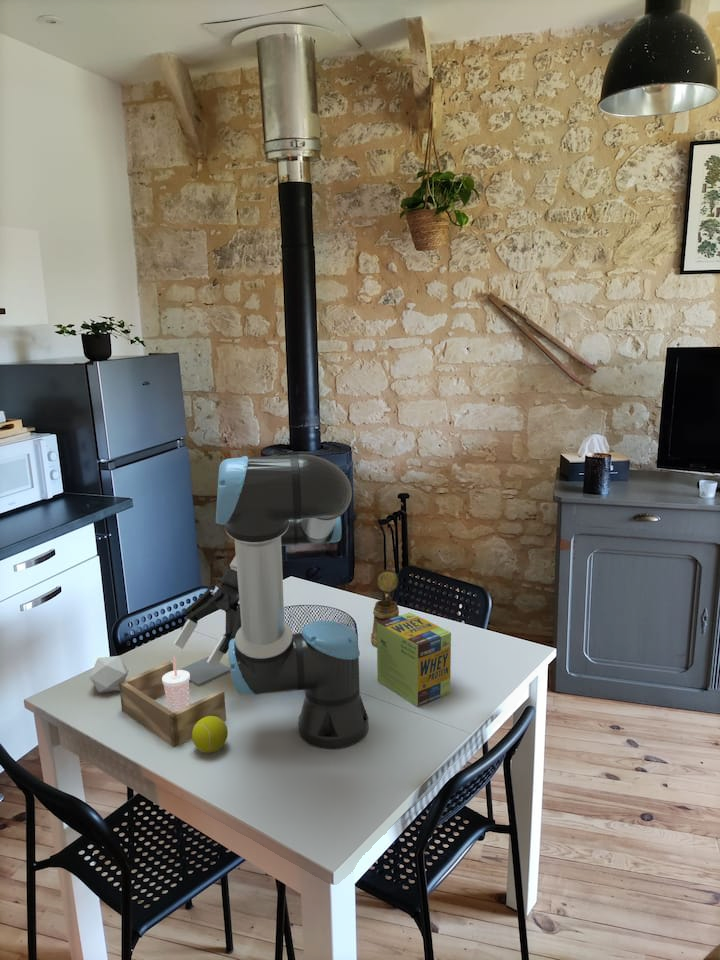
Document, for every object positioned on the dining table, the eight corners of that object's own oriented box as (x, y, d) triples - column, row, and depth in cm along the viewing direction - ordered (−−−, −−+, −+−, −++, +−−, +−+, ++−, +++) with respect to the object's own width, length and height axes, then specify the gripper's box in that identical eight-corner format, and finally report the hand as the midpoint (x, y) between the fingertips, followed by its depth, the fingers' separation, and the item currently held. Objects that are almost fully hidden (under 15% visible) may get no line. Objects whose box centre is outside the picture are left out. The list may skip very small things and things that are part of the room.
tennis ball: (211, 735, 148) (208, 706, 146) (235, 745, 144) (233, 715, 143) (186, 752, 142) (183, 722, 141) (210, 763, 139) (208, 732, 137)
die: (112, 703, 162) (133, 665, 164) (78, 687, 162) (100, 649, 164) (118, 698, 170) (138, 661, 172) (86, 682, 170) (106, 646, 172)
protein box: (417, 708, 157) (417, 645, 154) (376, 680, 169) (375, 621, 166) (451, 693, 163) (452, 632, 160) (409, 667, 175) (409, 610, 172)
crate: (172, 687, 168) (169, 661, 166) (226, 720, 153) (224, 691, 152) (121, 710, 158) (118, 682, 157) (174, 747, 144) (171, 717, 142)
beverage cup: (161, 720, 154) (156, 662, 151) (169, 705, 160) (164, 649, 157) (188, 720, 154) (183, 662, 151) (196, 705, 160) (191, 649, 157)
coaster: (231, 670, 175) (231, 668, 175) (198, 686, 168) (198, 684, 168) (208, 658, 182) (208, 656, 182) (175, 673, 175) (175, 671, 174)
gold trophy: (405, 628, 198) (405, 568, 194) (402, 649, 185) (401, 586, 181) (374, 626, 199) (373, 567, 195) (368, 648, 186) (367, 585, 182)
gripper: (285, 595, 161) (237, 678, 154) (221, 570, 177) (175, 645, 170) (265, 580, 156) (215, 666, 149) (201, 556, 172) (154, 632, 165)
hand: (194, 655), depth 160 cm, fingers open, 13 cm apart
